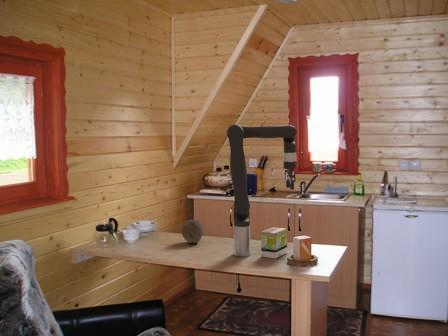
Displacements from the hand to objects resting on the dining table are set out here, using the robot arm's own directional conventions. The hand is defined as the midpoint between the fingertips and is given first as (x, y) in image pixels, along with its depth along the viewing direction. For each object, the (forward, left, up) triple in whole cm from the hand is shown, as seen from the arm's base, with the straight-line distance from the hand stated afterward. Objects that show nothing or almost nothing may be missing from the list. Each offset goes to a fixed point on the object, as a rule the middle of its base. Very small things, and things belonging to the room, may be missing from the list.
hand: (290, 188), depth 283 cm
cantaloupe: (-54, +37, -38) cm, 76 cm away
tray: (+1, -20, -38) cm, 43 cm away
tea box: (-10, -2, -38) cm, 39 cm away
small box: (+1, -20, -37) cm, 42 cm away
